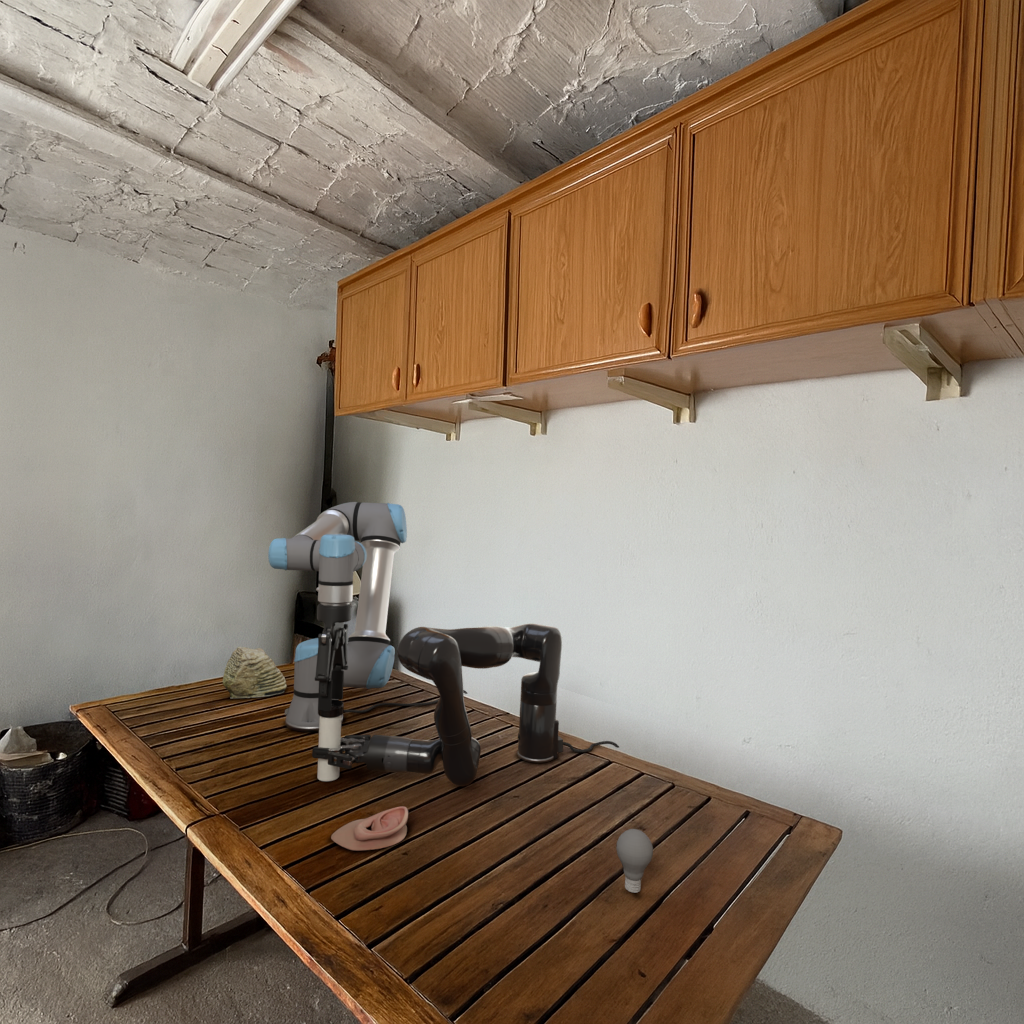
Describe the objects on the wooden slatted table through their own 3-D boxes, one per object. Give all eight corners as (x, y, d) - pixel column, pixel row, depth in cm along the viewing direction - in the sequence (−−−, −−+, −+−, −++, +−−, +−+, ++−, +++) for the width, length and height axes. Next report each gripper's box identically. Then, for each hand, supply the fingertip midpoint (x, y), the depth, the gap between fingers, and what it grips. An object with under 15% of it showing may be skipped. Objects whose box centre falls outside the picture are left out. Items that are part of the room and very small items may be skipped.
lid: (344, 709, 146) (345, 699, 146) (342, 717, 141) (342, 707, 141) (319, 709, 146) (320, 699, 145) (316, 717, 140) (316, 707, 140)
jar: (340, 771, 146) (343, 701, 146) (337, 781, 141) (340, 708, 141) (319, 772, 145) (321, 702, 145) (315, 781, 141) (318, 708, 140)
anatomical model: (323, 824, 115) (352, 795, 126) (322, 845, 115) (351, 815, 126) (392, 835, 112) (415, 805, 123) (391, 857, 112) (414, 825, 123)
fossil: (218, 695, 195) (220, 647, 195) (278, 685, 208) (279, 640, 207) (228, 703, 189) (230, 653, 188) (289, 692, 201) (290, 645, 201)
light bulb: (610, 879, 108) (613, 822, 108) (644, 879, 109) (647, 822, 109) (619, 902, 102) (622, 840, 102) (655, 901, 103) (658, 840, 103)
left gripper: (333, 596, 153) (329, 690, 153) (301, 609, 133) (297, 718, 133) (363, 597, 153) (359, 692, 153) (336, 611, 132) (332, 720, 132)
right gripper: (400, 726, 149) (330, 720, 151) (381, 749, 135) (304, 743, 136) (399, 757, 149) (329, 751, 151) (380, 784, 135) (303, 777, 137)
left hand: (330, 704), depth 143 cm, fingers open, 8 cm apart
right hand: (318, 747), depth 144 cm, fingers closed on jar, 4 cm apart
